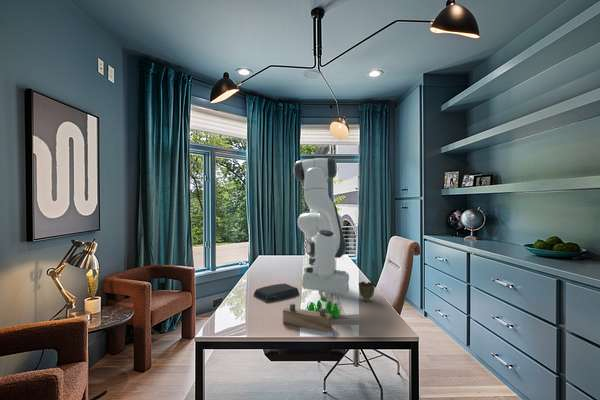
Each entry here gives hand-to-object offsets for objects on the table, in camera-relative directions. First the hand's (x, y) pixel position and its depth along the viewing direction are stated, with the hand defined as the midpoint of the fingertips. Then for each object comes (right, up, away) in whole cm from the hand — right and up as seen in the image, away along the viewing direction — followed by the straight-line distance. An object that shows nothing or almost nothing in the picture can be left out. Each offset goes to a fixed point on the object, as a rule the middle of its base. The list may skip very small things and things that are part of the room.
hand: (324, 301), depth 133 cm
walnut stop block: (-8, -3, -18) cm, 20 cm away
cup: (+20, -4, +11) cm, 23 cm away
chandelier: (-1, -4, -6) cm, 8 cm away
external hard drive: (-22, -4, +18) cm, 28 cm away
